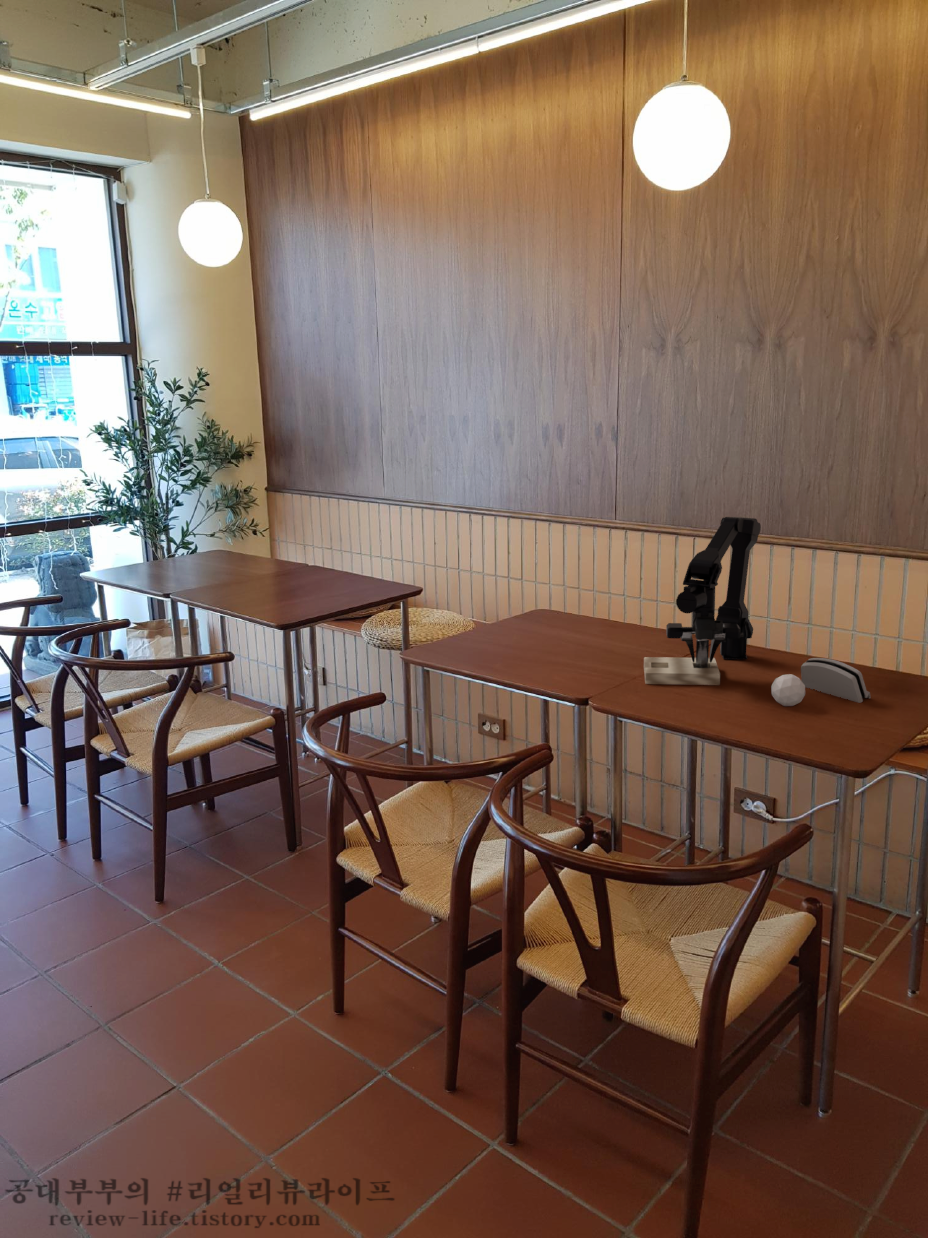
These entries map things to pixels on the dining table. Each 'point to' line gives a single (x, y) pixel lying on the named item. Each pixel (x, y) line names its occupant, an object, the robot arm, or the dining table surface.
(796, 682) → the geometric ball
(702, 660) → the pin
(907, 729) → the dining table surface
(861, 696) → the grey napkin holder
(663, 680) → the dock board
